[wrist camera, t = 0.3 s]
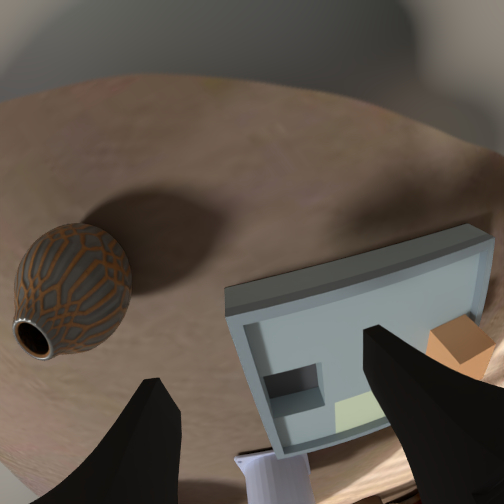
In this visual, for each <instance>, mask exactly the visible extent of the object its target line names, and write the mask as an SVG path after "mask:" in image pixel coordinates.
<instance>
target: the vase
mask: <svg viewBox="0 0 504 504" xmlns="http://www.w3.org/2000/svg"><path fill="white" fill-rule="evenodd" d="M131 292H132V274H131V268H130V265H129V261H128V259H127V256H126V254H125V252H124V250H123V249H122V247H121V246H120V244H119V243H118V242H117V241H116V240H115V239H114V238H113V237H112V236H111V235H110V234H109V233H107V232H106V231H104V230H102V229H100V228H98V227H95V226H92V225H89V224H81V223H73V224H66V225H62V226H59V227H57V228H54V229H52V230H50V231H49V232H47V233H45V234H44V235H42V236H41V237H40V238H38V239H37V240H36V241H35V242H34V243H33V244H32V245H31V246H30V248H29V249H28V250H27V252H26V253H25V255H24V257H23V259H22V260H21V262H20V265H19V267H18V270H17V273H16V277H15V283H14V305H15V316H14V320H13V334H14V337H15V339H16V341H17V342H18V344H19V345H20V347H21V348H22V349H23V350H24V351H25V352H26V353H27V354H29V355H30V356H32V357H33V358H36V359H38V360H44V361H45V360H49V359H52V358H53V357H55V356H57V355H63V354H76V353H82V352H85V351H89V350H91V349H93V348H95V347H97V346H98V345H100V344H101V343H103V342H104V341H105V340H106V339H108V338H109V337H110V336H111V335H112V334H113V333H114V332H115V330H116V329H117V328H118V326H119V325H120V323H121V322H122V320H123V318H124V316H125V313H126V311H127V308H128V306H129V302H130V299H131Z"/></svg>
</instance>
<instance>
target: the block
mask: <svg viewBox="0 0 504 504" xmlns="http://www.w3.org/2000/svg"><path fill="white" fill-rule="evenodd" d="M495 345H496V343H495V342H494V341H493V340H492V339H491V338H490V337H489V336H488V335H487V334H486V333H485V332H484V331H482V330H481V329H480V328H479V327H478V326H477V325H476V324H475V323H474V322H473V321H472V320H471V319H470V318H469V317H468V316H467V315H465V314H464V315H462V316H460V317H458V318H456V319H454V320H451V321H449V322H447V323H445V324H443V325H440V326H438V327H436V328H434V329H431V330H430V333H429V339H428V344H427V350H426V355H427V356H429V357H431V358H432V359H434V360H436V361H438V362H440V363H441V364H443V365H445V366H447V367H449V368H451V369H453V370H455V371H457V372H460V373H462V374H464V375H467V376H469V377H471V378H474V379H476V380H480V379H482V378H483V376H484V374H485V371H486V369H487V366H488V364H489V361H490V359H491V356H492V353H493V350H494V348H495Z"/></svg>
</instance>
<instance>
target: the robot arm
mask: <svg viewBox="0 0 504 504" xmlns="http://www.w3.org/2000/svg"><path fill="white" fill-rule="evenodd" d="M363 371H364V374H365V376H366V379H367V381H368V384H369V386H370V388H371V391H372V393H373V395H374V396H375V398H376V400H377V402H378V403H379V405H380V407H381V409H382V410H383V412H384V414H385V416H386V417H387V419H388V421H389V423H390V424H391V426H392V428H393V430H394V432H395V433H396V435H397V437H398V439H399V441H400V443H401V445H402V447H403V450H404V452H405V455H406V457H407V460H408V462H409V465H410V468H411V471H412V473H413V476H414V479H415V482H416V485H417V488H418V492H419V495H420V498H421V502H422V504H504V388H502V387H498V386H495V385H491V384H488V383H485V382H482V381H479V380H476V379H474V378H471V377H469V376H467V375H464V374H462V373H460V372H457V371H455V370H453V369H451V368H449V367H447V366H445V365H443V364H441V363H440V362H438V361H436V360H434V359H432V358H431V357H429V356H427V355H426V354H424V353H422V352H421V351H419V350H417V349H416V348H414V347H413V346H411V345H409V344H408V343H406V342H405V341H403V340H402V339H400V338H399V337H397V336H396V335H394V334H393V333H391V332H390V331H388V330H387V329H385V328H384V327H382V326H381V325H379V324H378V325H375V326H372V327H369V328H366V329H363ZM181 438H182V430H181V411H180V410H179V408H178V407H177V405H176V404H175V402H174V401H173V399H172V398H171V396H170V395H169V393H168V391H167V390H166V388H165V387H164V385H163V383H162V382H161V380H160V378H151V379H144V380H143V382H142V383H141V384H140V386H139V387H138V389H137V390H136V392H135V393H134V395H133V396H132V398H131V399H130V401H129V402H128V404H127V405H126V407H125V408H124V410H123V411H122V413H121V414H120V416H119V417H118V419H117V420H116V422H115V423H114V424H113V426H112V427H111V428H110V430H109V431H108V432H107V434H106V435H105V436H104V438H103V439H102V440H101V442H100V443H99V444H98V446H97V447H96V448H95V449H94V450H93V452H92V453H91V454H90V455H89V456H88V457H87V458H86V459H85V460H84V462H83V463H82V464H81V465H80V466H79V467H78V468H77V469H75V470H74V471H73V472H72V473H71V474H70V475H69V476H68V477H67V478H66V479H64V480H63V481H62V482H61V483H60V484H58V485H57V486H56V487H55V488H53V489H52V490H50V491H49V492H48V493H46V494H45V495H43V496H42V497H40V498H38V499H37V500H35V501H34V502H31V503H30V504H178V496H177V492H178V474H179V462H180V450H181ZM234 460H235V462H236V463H237V465H238V466H239V468H240V469H241V471H242V472H243V474H244V475H245V478H246V488H247V497H248V504H316V503H315V499H314V495H313V491H312V487H311V483H310V479H309V474H311V471H310V466H309V461H308V456H307V453H305V454H301V455H296V456H292V457H288V458H283V459H278V460H277V458H276V455H275V453H274V450H269V451H264V452H258V453H252V454H246V455H240V456H236V457H234Z"/></svg>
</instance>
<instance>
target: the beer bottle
mask: <svg viewBox="0 0 504 504" xmlns="http://www.w3.org/2000/svg"><path fill="white" fill-rule="evenodd" d="M353 504H383V503H382V501H381V498H380V497H379V496H371V497H368V498H364V499H362V500H360V501H357V502H355V503H353Z"/></svg>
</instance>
